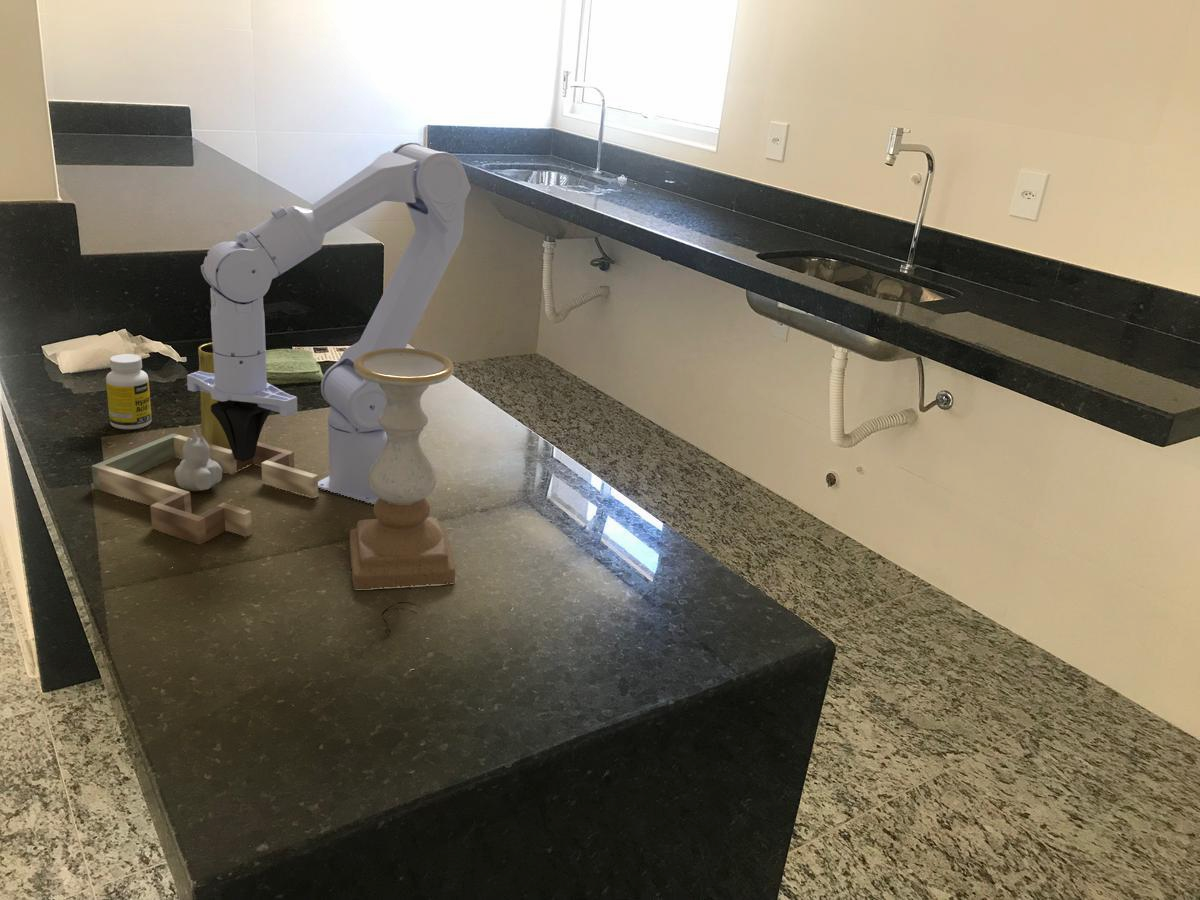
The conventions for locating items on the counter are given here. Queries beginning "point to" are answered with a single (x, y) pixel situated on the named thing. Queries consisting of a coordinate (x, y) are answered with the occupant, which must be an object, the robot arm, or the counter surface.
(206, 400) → the vase
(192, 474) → the white animal figurine
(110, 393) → the supplement bottle
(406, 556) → the candle holder
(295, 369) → the washcloth
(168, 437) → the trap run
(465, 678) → the counter surface
